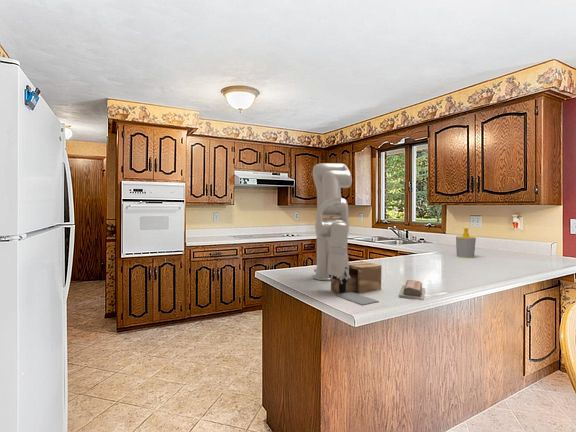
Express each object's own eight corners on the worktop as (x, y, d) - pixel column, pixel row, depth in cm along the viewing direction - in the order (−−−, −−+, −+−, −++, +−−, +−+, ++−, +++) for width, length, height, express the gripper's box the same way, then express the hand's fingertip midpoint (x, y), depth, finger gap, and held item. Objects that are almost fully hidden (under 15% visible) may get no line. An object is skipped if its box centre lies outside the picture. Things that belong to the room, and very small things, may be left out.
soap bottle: (477, 256, 257) (478, 228, 256) (472, 258, 248) (473, 229, 247) (458, 254, 266) (459, 227, 265) (452, 256, 257) (453, 228, 256)
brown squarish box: (341, 287, 164) (341, 263, 163) (362, 283, 170) (362, 261, 170) (359, 293, 153) (360, 268, 152) (381, 289, 160) (381, 265, 159)
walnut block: (331, 291, 156) (331, 278, 155) (354, 287, 163) (354, 275, 163) (338, 294, 151) (338, 280, 151) (362, 290, 159) (362, 277, 158)
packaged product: (402, 278, 163) (425, 280, 159) (402, 288, 163) (425, 291, 160) (398, 287, 147) (423, 289, 143) (398, 298, 147) (423, 301, 143)
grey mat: (336, 295, 149) (336, 294, 149) (351, 292, 154) (351, 292, 154) (362, 305, 135) (362, 304, 135) (378, 302, 140) (378, 301, 140)
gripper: (320, 248, 159) (320, 288, 160) (344, 253, 145) (344, 296, 145) (333, 247, 163) (332, 286, 164) (358, 252, 148) (357, 294, 149)
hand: (338, 290), depth 155 cm, fingers closed on walnut block, 5 cm apart
